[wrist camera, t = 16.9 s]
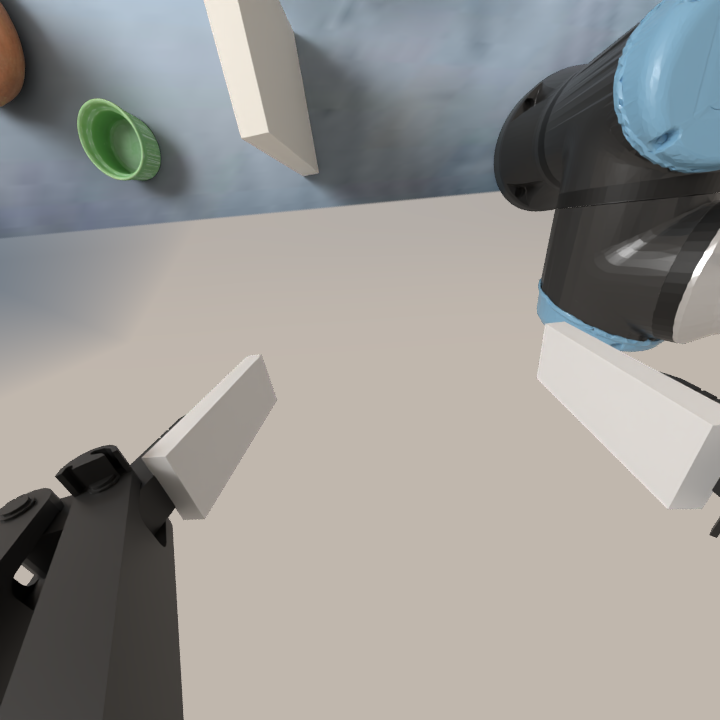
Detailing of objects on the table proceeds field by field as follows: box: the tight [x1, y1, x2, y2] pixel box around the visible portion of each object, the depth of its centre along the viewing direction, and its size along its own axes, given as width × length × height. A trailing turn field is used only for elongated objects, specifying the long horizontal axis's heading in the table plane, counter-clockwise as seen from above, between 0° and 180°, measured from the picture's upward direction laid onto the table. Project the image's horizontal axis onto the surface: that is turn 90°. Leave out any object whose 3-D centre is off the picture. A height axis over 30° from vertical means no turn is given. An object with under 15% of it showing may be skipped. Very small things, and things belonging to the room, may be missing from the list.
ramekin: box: [77, 99, 161, 180], centre depth 39 cm, size 9×9×4 cm
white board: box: [204, 0, 319, 176], centre depth 29 cm, size 2×15×20 cm, turn 9°
